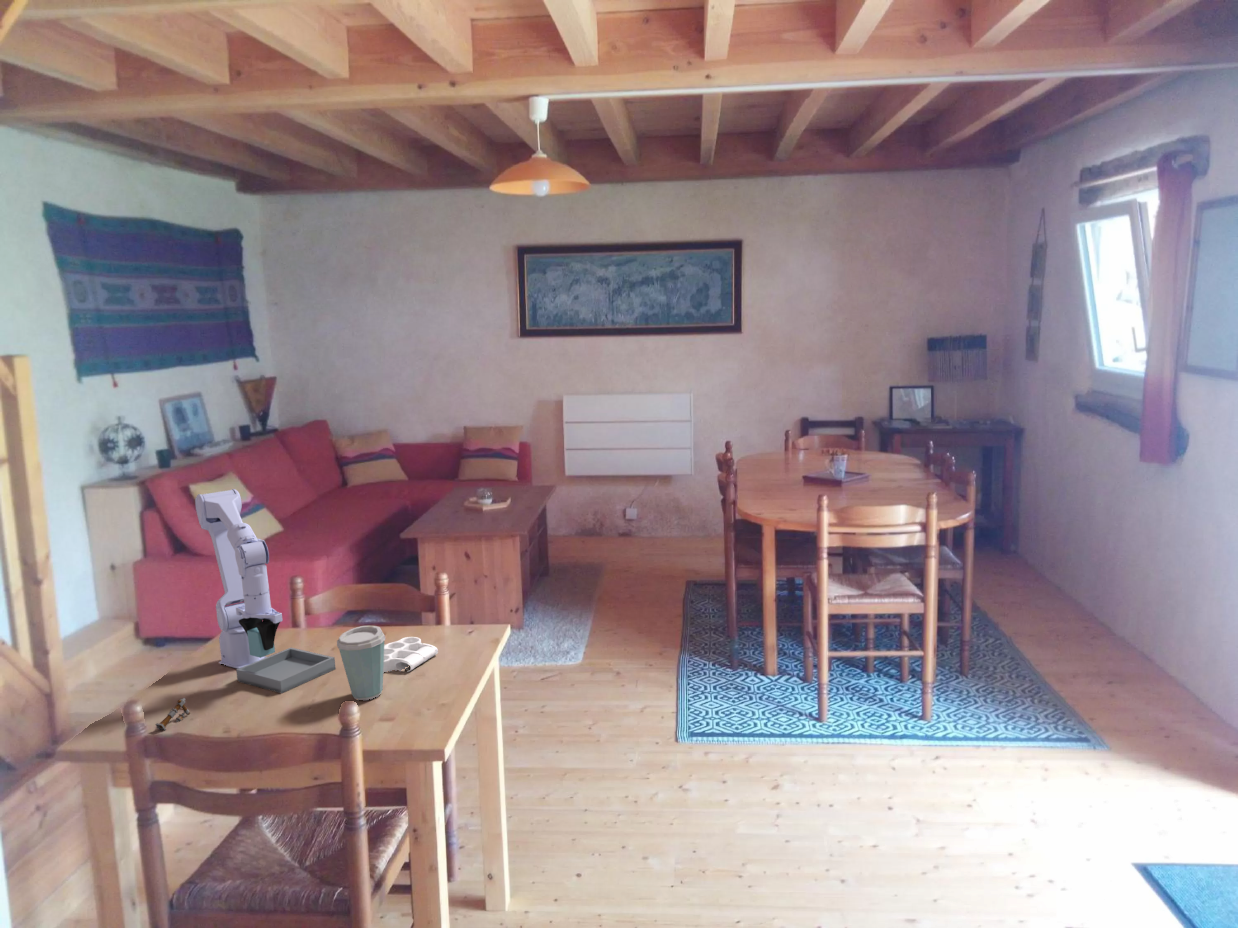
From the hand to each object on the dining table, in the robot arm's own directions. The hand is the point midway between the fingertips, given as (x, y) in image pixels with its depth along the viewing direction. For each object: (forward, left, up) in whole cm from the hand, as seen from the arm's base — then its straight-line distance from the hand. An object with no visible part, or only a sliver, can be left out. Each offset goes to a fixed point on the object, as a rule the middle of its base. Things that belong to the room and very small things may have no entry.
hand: (262, 647), depth 220 cm
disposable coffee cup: (+29, +4, -9) cm, 30 cm away
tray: (+2, +4, -8) cm, 10 cm away
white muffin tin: (+21, +24, -9) cm, 33 cm away
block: (0, 0, -2) cm, 2 cm away
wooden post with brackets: (+1, -25, -9) cm, 26 cm away
